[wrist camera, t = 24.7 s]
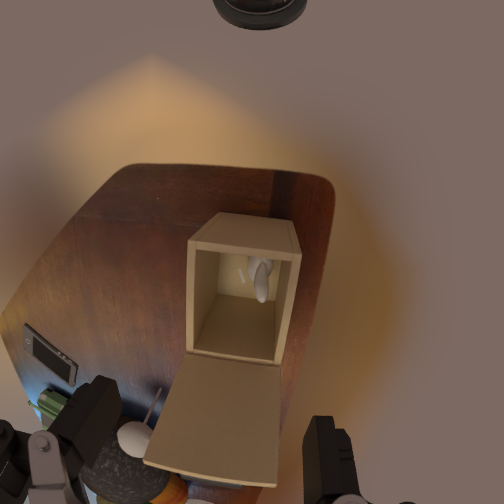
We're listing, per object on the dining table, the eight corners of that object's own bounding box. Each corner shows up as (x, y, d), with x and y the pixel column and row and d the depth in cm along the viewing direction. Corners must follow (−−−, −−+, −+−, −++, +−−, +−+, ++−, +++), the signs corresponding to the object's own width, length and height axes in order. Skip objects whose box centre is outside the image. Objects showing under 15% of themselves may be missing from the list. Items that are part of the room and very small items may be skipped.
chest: (218, 211, 34) (187, 239, 22) (292, 220, 34) (302, 254, 22) (212, 294, 37) (186, 353, 25) (279, 303, 37) (280, 367, 25)
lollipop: (176, 380, 43) (147, 450, 29) (178, 403, 45) (154, 468, 31) (142, 372, 43) (106, 436, 29) (146, 395, 45) (116, 456, 31)
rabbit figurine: (259, 289, 35) (279, 307, 27) (228, 282, 34) (240, 300, 26) (271, 241, 35) (295, 247, 27) (240, 233, 34) (256, 237, 26)
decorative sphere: (97, 426, 52) (63, 485, 33) (96, 379, 45) (46, 450, 26) (172, 460, 52) (151, 526, 33) (191, 421, 46) (163, 509, 27)
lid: (141, 459, 14) (154, 485, 16) (277, 484, 13) (265, 505, 15) (185, 353, 25) (187, 389, 27) (280, 367, 24) (271, 402, 26)
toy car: (84, 398, 48) (63, 428, 39) (102, 457, 58) (90, 481, 48) (45, 377, 48) (23, 403, 39) (69, 441, 58) (56, 463, 48)
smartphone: (78, 365, 45) (76, 367, 44) (74, 386, 47) (73, 388, 47) (25, 322, 43) (23, 323, 43) (25, 346, 46) (23, 348, 45)
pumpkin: (197, 472, 53) (185, 520, 39) (186, 493, 59) (176, 532, 45) (123, 445, 53) (102, 490, 39) (124, 471, 59) (109, 508, 45)
